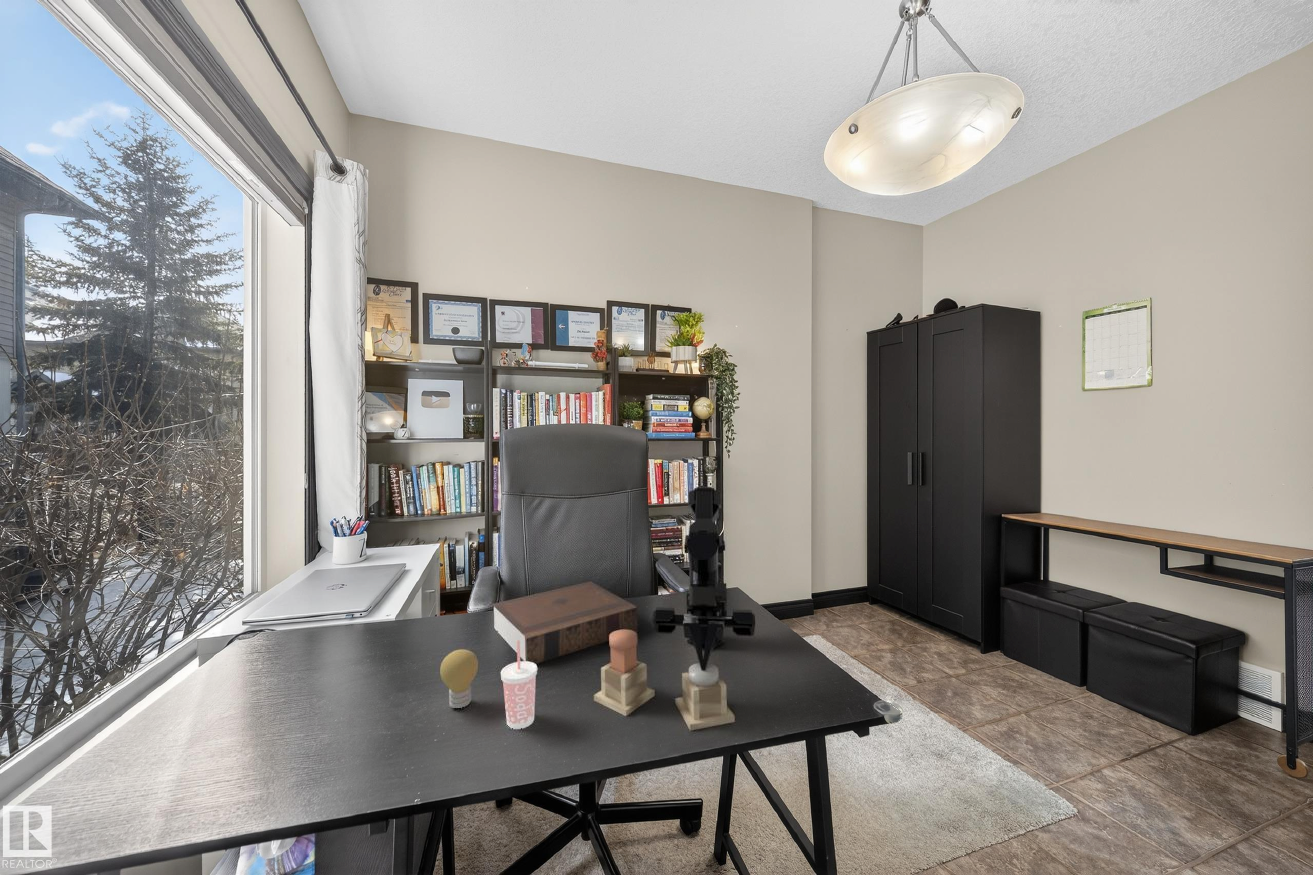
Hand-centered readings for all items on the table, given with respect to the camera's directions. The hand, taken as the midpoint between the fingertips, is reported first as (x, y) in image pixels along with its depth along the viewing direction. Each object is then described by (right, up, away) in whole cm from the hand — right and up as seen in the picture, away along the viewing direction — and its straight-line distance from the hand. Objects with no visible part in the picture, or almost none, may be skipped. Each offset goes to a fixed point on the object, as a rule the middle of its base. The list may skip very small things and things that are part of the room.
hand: (703, 669), depth 84 cm
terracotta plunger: (-14, -2, +5) cm, 15 cm away
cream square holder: (-14, -8, +6) cm, 17 cm away
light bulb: (-44, -9, +4) cm, 45 cm away
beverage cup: (-32, -9, -1) cm, 33 cm away
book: (-31, -8, +36) cm, 48 cm away
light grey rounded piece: (0, -7, +1) cm, 7 cm away
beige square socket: (0, -8, +1) cm, 8 cm away
